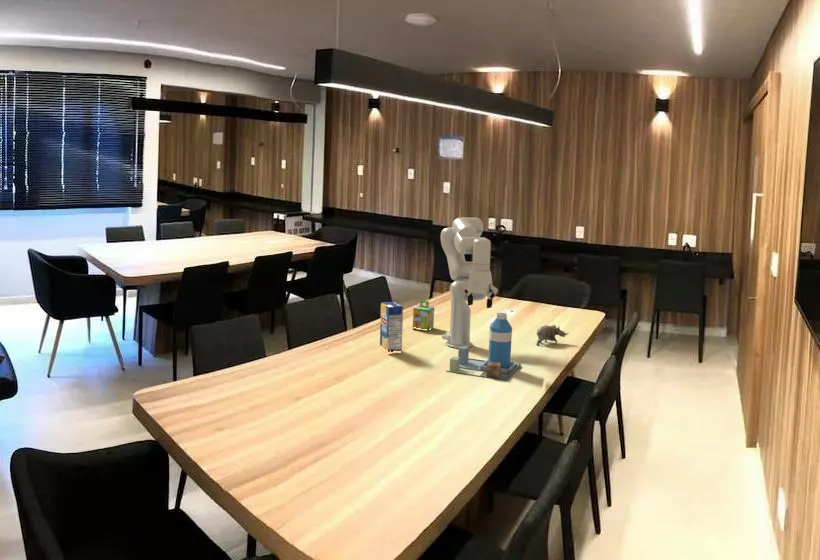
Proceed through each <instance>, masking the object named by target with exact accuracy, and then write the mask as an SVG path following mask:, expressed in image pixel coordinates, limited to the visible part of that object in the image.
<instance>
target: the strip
mask: <svg viewBox="0 0 820 560" xmlns="http://www.w3.org/2000/svg"><path fill="white" fill-rule="evenodd" d="M448 371H453V372H459V373H465V374H472V375H475V373H476V372H477V371H476V370H469V369H463V368H460V357H458V356H452V357H451V358H449V370H448Z"/></svg>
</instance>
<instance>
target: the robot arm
mask: <svg viewBox="0 0 820 560" xmlns="http://www.w3.org/2000/svg"><path fill="white" fill-rule="evenodd" d="M483 231H484V223H483V221H482V220H481V218H479V217H472V216H471V217H467V216H465V217H464V216H463V217H457V218H455V219H454V220H453V222H452V226H449V227H445V228H443V229H442V230H441V232H440V244H441V248H442V250H443V251H444V254H445V256H446V260H447V264H448V270H449V275H450V278H451V280H453V282H452V283H451V284H450V286H449V294H450V296H449V297H450V329H449V334H448V335H447V334H442V336H441V339H442V340H444V341H445V340H446V343H445V345H446V346H447V345H448V347H449V346H450V348H453V347H454V348H453V349H459V348H460V347H461V346H469V349H470V348H471V347H473V342H472V341H470V335H471V334H470V333H471V316H472V315H471V314H472V311H471V310H472V309H471V307H470V306H472V305H474V301H484V300H485V299H486V297H487V299H486V309H491V308H492V307H493V299H494V298H495V297H496V296H497V294H498V291H499V289H498V288H497V287H496V286H494V285H493V278H492V277H493V276H492V271H491V269H490V268H491V246H492V242H491V240H490V239H488V238H486V237H481V236H482V233H483ZM465 255H472V261H466V258H465Z"/></svg>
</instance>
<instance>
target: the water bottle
mask: <svg viewBox="0 0 820 560" xmlns="http://www.w3.org/2000/svg"><path fill="white" fill-rule="evenodd" d="M507 316H508V315H507V313H505V312H497V313H496V318H495V319H494V320H493V322H492V323H491V324H490V325H489V339H488V358H487V359H488V362H498V363H501V366H500V368H504V369H509V368H510V367H511V366H510V361H511V356H512V355H511V354H512V353H511V352H512V339H513V337H512V336H513V327H512V325H511V324H510V322H509V321H508V317H507Z"/></svg>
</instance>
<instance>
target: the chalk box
mask: <svg viewBox="0 0 820 560" xmlns="http://www.w3.org/2000/svg"><path fill="white" fill-rule="evenodd" d="M419 302H420V303H419V305H417V306H415V307H413V311H412V313H413V314H412V315H413V316H412V328H413V327H416V328H421V329H427V330H429V329H430V328H432V327H433V328H434V322H435V307H434V306H430V302H429V300H428V301H427V300H420V301H419ZM423 304H425V305H423ZM433 328H432V329H433Z"/></svg>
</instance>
